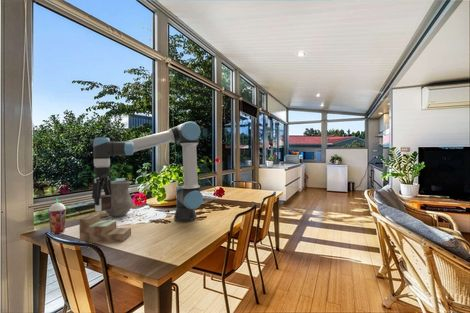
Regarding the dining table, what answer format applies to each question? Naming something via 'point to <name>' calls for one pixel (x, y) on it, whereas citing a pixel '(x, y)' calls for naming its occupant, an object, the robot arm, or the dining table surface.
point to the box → (104, 202)
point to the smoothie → (57, 217)
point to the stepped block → (101, 230)
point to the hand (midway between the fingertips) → (102, 209)
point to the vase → (120, 199)
